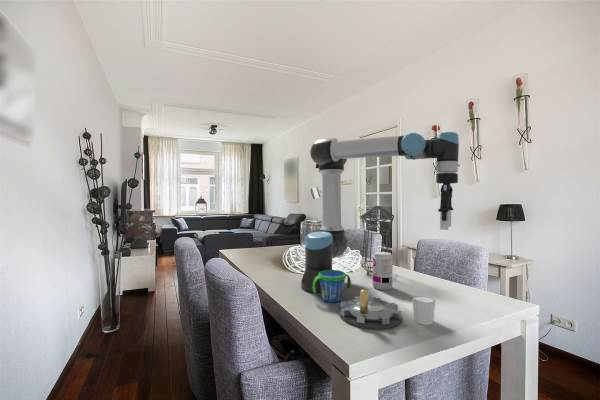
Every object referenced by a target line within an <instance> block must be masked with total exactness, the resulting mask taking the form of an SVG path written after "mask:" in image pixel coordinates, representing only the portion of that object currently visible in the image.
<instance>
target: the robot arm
mask: <svg viewBox="0 0 600 400" xmlns="http://www.w3.org/2000/svg"><path fill="white" fill-rule="evenodd" d="M459 139H460V138H459V134H458V133H457V132H454V131H445V132H440V133H438V134H437V136H436V138H432V139H425V138H424V136H423V135H421V134H419V133H416V132H410V133H407V134H405V135H394V136H381V137H380V136H379V137H367V138H353V139H342V140H339V139H337V138H320V139H317V140H316V141H315V142H313V144H312V145H311V148H310V151H309V153H310V154H309V155H310V157H311V159H312V161H313V162H314V163H315V164H317V165H318V170H319V172H320V174H321V176H322V184H321V185H322V186H321V187H322V226H320V227H319V231H314V232H310V233H307V235H306V236H305V241H304V246H305V247H304V249H305V254H304V256H305V258H304V259H305V260H304V261H305V263H304V264H305V265H304V268H305V269H304V272H303V276H302V278H301V281H300V288H301V289H302V290H304V291H306V292H310V293H314V292H313V289H312V285H313V281H314V279H315V277H316V276H318V273H319V272H321V271H324V270H333V259H334V258H338V257H341V256H342V255H343V254H344V253H345V252H346V251H347V250H348V249H347V248H348V245H349V244H348V243H349V242H348V237H347V236H346V235H345V228H344V227H343V226H342V201H341V200H342V193H341V192H342V188H341V187H342V183H341V182H342V180H341V179H342V178H341V175H342V174H343V172H344V171H345V164H346V163H347V160H348V159H364V158H368V159H369V158H384V157H385V158H386V157H404V158H405V160H414V161H415V160H425V159H436V166H435V167H436V168H435V170H436V171H435V172H436V174H435V177H436V179H435V182H436V184H442V185H441V186H440V205H439V208H438V209H437V211H438V212H439V214H440V215H439V217H440V219H439V230H443V231H447V230H448V231H449V227H452V211H454V208H453V207H452V203H453V202H452V198H453V191H454V190H453V187H452V185H451V184H457V183H458V181H459V179H458V178H459V174H458V172H459V167H460V163H459V152H460V151H459V148H460V146H459V145H460V143H459V141H460V140H459ZM315 288H316V293H321V286H320V280H319V279H318V280H317V282H316V283H315ZM321 294H322V293H321Z"/></svg>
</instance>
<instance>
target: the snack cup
mask: <svg viewBox="0 0 600 400" xmlns="http://www.w3.org/2000/svg"><path fill="white" fill-rule="evenodd" d="M346 278H347V282H346V283H347V284H346V288H347V289H348V290H351V288H352V280H351V277H350V275H349V274H347V273H346V272H344V271H342V270H337V269H332V270H324V271H321V272H319V273H318V276H316V277H315V279H314V281H313V285H312V289H313V292H312V293H314V294H316V293H317V292H316V288H315V283H316V282H317V280H318V279H319V280H320V286H321V298H322V300H323V301H325V302H328V303H337V302H342V300H343V295H344V289H345V281H346Z"/></svg>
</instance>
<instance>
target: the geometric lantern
mask: <svg viewBox="0 0 600 400" xmlns="http://www.w3.org/2000/svg"><path fill="white" fill-rule="evenodd" d="M371 213H372V214H371ZM375 213H376V215H375ZM379 213H381V215H380V214H379ZM379 217H382V218H379ZM394 218H395V215H394V214H392V213H390V212H389V211H388V210H386V209H385V208H383V207H381V206H380V205H374V206H373V207H372V208H371V209H369V210H368V211H366V212H364V213H363V214H361V215H360V216H359V219H361V222H362V226H363V228H362V229H363V233H364V234H363V245H362V253H361V255H362V256H361V267H362V268H363V269H364V270H365V271H366V275H367V276H371V274H370V272H371V273H373V266H371V263H373V260H372V245H373V244H372V243H373V235H374V234H375V235H381V238H382V241H381V242H382V244H381V246H382V251H381V252H389V253H391V254H392V252H391V234H390V233H391V232H390V230H391V227H392V224H393V222H394ZM368 219H369V220H368ZM371 221H375V222H374V223H371ZM386 221H389V226H388V227H387V225H386ZM365 223H366V225H367V227H368V229H365ZM381 223H384V226H385V227H386V230H385V229H381V228H380V226H379V225H380V224H381ZM369 225H370V226H369ZM375 226H377V228H378V229H375V231H377V232H373V230H374V229H373V228H375ZM370 231H371V232H370ZM379 232H380V233H379ZM383 232H386V233H383ZM384 235H385V242H384ZM369 236H370V237H369ZM369 238H370V248H369ZM384 243H385V244H384ZM384 245H385V249H386V251H384V250H385V249H384ZM368 248H369V260H367V259H368ZM368 263H369V265H368Z"/></svg>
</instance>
